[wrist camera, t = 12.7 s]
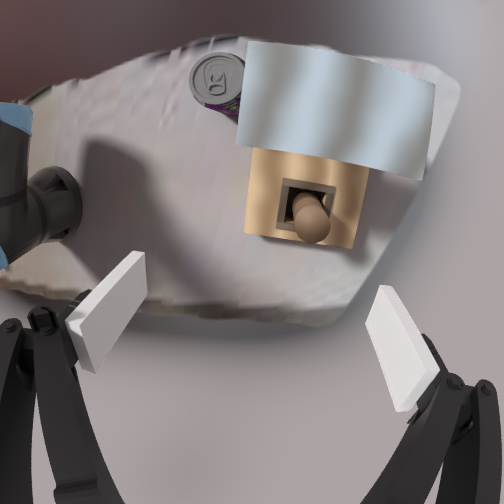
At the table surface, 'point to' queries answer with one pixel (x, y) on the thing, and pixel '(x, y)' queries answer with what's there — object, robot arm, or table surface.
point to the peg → (309, 217)
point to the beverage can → (218, 82)
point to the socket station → (326, 133)
